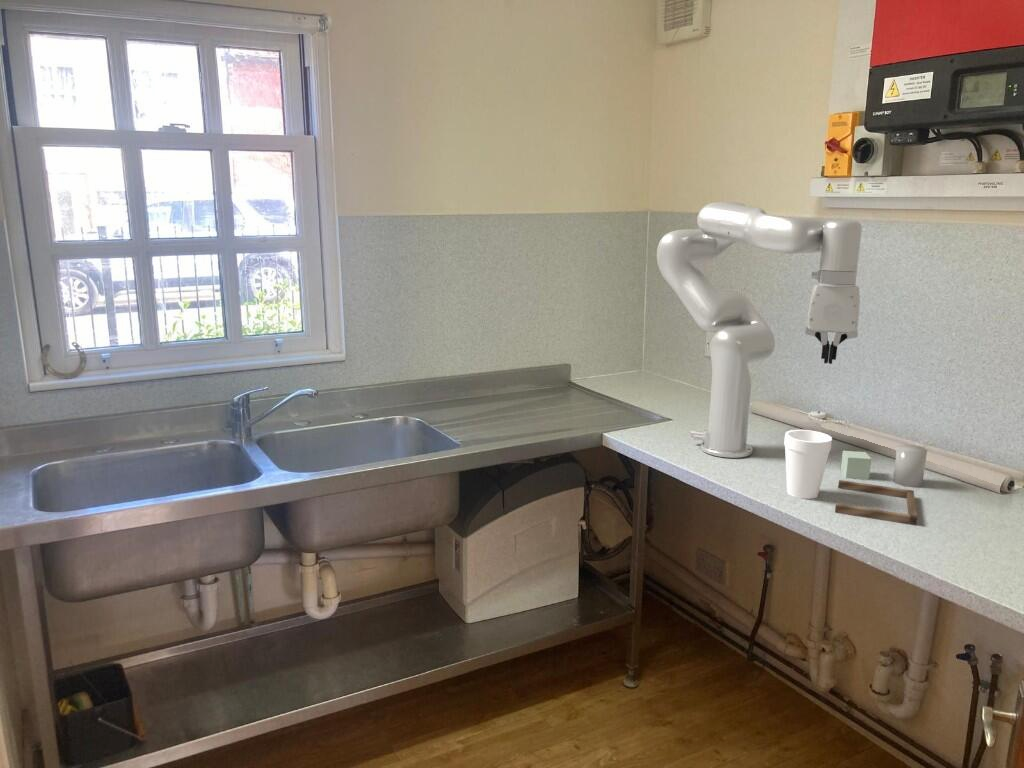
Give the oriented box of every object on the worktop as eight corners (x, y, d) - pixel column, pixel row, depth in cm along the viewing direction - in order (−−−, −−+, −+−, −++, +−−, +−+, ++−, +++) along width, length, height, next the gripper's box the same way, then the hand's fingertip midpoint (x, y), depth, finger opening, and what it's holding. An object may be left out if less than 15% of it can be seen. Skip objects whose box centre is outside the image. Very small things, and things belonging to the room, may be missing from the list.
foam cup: (796, 503, 163) (802, 444, 160) (770, 487, 172) (776, 431, 169) (835, 499, 166) (841, 440, 163) (807, 484, 174) (813, 428, 171)
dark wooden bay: (834, 512, 159) (835, 505, 158) (838, 486, 173) (839, 479, 173) (916, 525, 153) (917, 517, 152) (912, 497, 167) (913, 490, 167)
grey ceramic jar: (893, 484, 175) (897, 450, 173) (892, 476, 180) (896, 443, 178) (923, 488, 172) (927, 454, 170) (921, 480, 178) (926, 446, 176)
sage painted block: (845, 478, 179) (848, 457, 177) (840, 471, 183) (842, 450, 182) (868, 479, 178) (871, 458, 177) (863, 472, 183) (865, 452, 181)
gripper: (798, 278, 167) (790, 362, 171) (875, 282, 161) (865, 369, 165) (801, 275, 173) (793, 356, 178) (875, 279, 167) (865, 362, 172)
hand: (828, 362), depth 171 cm, fingers closed
